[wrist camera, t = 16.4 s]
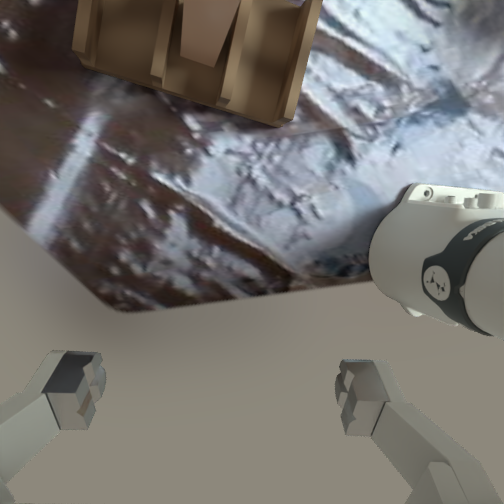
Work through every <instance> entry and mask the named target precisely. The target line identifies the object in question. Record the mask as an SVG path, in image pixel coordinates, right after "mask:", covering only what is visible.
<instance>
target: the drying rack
mask: <svg viewBox="0 0 504 504" xmlns="http://www.w3.org/2000/svg"><path fill="white" fill-rule="evenodd" d="M322 2H323V0H305V2H304V3H303V4H302V5H301V7H300V6H297V5H295V4H293V3H290V2H288V1H285V0H240V2H239V5H238V7H237V10H236V13H235V15H234V18H233V20H232V23H231V25H230V28H229V31H228V33H227V36H226V38H225V41H224V43H223V46H222V49H221V51H220V54H219V56H218V59H217V61H216V64H215V66H214V68H213V67H210V66H207V65H204V64H202V63H199V62H196V61H193V60H190V59H187V58H184V57H181V56H180V51H181V37H182V22H183V8H184V0H79V1H78V8H77V15H76V22H75V29H74V36H73V43H72V50H73V52H74V53H75V54H76V55H77V57H78V58H79V59H80V60H81V64H82V65H83V67H84V68H87V69H90V70H93V71H96V72H100V73H103V74H106V75H109V76H113V77H116V78H119V79H122V80H126V81H129V82H132V83H135V84H138V85H142V86H145V87H148V88H151V89H155V90H158V91H161V92H164V93H168V94H171V95H174V96H177V97H181V98H184V99H187V100H190V101H193V102H197V103H200V104H203V105H206V106H210V107H213V108H216V109H219V110H223V111H226V112H229V113H232V114H236V115H239V116H242V117H245V118H248V119H252V120H255V121H258V122H261V123H265V124H268V125H271V126H274V127H278V128H280V127H282V126H283V124H285V123H287V122H289V121H292V120H293V118H294V114H295V110H296V106H297V102H298V98H299V94H300V90H301V86H302V82H303V78H304V74H305V70H306V66H307V62H308V58H309V54H310V50H311V46H312V42H313V38H314V34H315V30H316V26H317V22H318V18H319V14H320V10H321V6H322Z"/></svg>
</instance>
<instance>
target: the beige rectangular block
mask: <svg viewBox="0 0 504 504" xmlns="http://www.w3.org/2000/svg"><path fill="white" fill-rule="evenodd" d="M239 2H240V0H184V8H183V22H182V37H181V51H180V56H181V57H184V58H187V59H190V60H193V61H196V62H199V63H202V64H204V65H207V66H210V67H213V68H214V66H215V64H216V61H217V59H218V56H219V54H220V51H221V49H222V46H223V43H224V41H225V38H226V36H227V33H228V31H229V28H230V25H231V23H232V20H233V18H234V15H235V13H236V10H237V7H238V5H239Z"/></svg>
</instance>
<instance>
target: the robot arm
mask: <svg viewBox="0 0 504 504" xmlns="http://www.w3.org/2000/svg"><path fill="white" fill-rule="evenodd" d="M425 191H426V194H425V196H424V192H425ZM369 268H370V273H371V276H372V278H373V281H374V283H375V284H376V286H377V287H378V288H379V290H380V291H381V292H382V293H384V294H385V295H386V296H388V297H390V298H392V299H394V300H396V301H397V302H399V303H400V304H401V306H402V307H403V308H404V310H405V311H406V312H407V313H408V314H410V315H412V316H414V317H418V316H421V315H427V316H429V317H431V318H434V319H436V320H438V321H441V322H443V323H446V324H448V325H451V326H457V325H458V324H460V325H462V326H463V327H465V328H467V329H469V330H472V331H474V332H478V333H480V334H483V335H487V336H495V337H497V338H499V339H501V340H503V341H504V193H503V192H499V191H492V190H482V189H473V188H463V187H453V186H443V185H433V184H423V183H414V184H412V185H411V186H410V187H409V188H408V190H407V191H406V193H405V195H404V196H403V198H402V200H401V202H400V204H399V205H398V206H397V207H396V208H395V209H393V210H392V211H391V212H390V213H389V214H388V215H387V216H386V217H385V218H384V219H383V221H382V222H381V223H380V225H379V226H378V228H377V230H376V232H375V234H374V236H373V239H372V242H371V245H370V250H369ZM101 362H102V357H101V354H100V353H98V352H80V351H58V350H53V351H51V352H50V353H48V354H47V356H46V357H45V359H44V360H43V362H42V363H41V365H40V366H39V368H38V369H37V371H36V372H35V374H34V376H33V377H32V379H31V380H30V382H29V383H28V385H27V386H26V388H25V389H24V391H23V392H22V393H16V394H15V395H13V396H12V397H10V398H9V399H7V400H6V401H4V402H3V403H1V404H0V504H30V503H14V502H15V500H14V496H13V495H12V493H11V492H10V490H9V489H8V487H7V486H6V483H7V482H8V481H10V480H11V479H12V477H14V476H15V475H16V474H17V473H18V472H19V471H20V470H21V469H22V468H23V467H24V466H25V465H26V464H27V463H28V462H29V461H30V460H31V459H32V458H33V457H34V456H35V455H36V454H38V452H39V451H41V450H42V449H43V448H44V447H45V446H46V445H47V444H48V443H49V442H50V441H51V440H52V439H53V438H54V437H55V436H56V435H57V434H58V433H59V432H60V430H87V429H88V428H89V425H90V423H91V421H92V418H93V416H94V414H95V411H96V409H95V406H94V403H95V402H96V401H98V400H99V399H100V398H101V397H102V394H103V392H104V389H105V384H106V372H105V369H104V368H103V367H102V366H100V364H101ZM339 368H340V371H341V373H340V374H338V375H337V377H336V381H335V394H336V399H337V404H338V405H339V406H340V407H341V408H342V409H343V410H342V413H341V420H342V423H343V427H344V431H345V435H347V436H367V437H371V439H372V440H373V441H374V442H375V444H376V445H377V446H378V447H379V448H380V450H381V451H382V452H383V453H384V454H385V456H386V457H387V458H388V459H389V461H390V462H391V463H392V464H393V466H394V467H395V468H396V469H397V470H398V472H399V473H400V474H401V475H402V477H403V478H404V479H405V480H406V481H407V483H408V484H409V485H410V486H411V488H412V489H413V491H412V492H411V494H410V496H409V497H408V499H407V501H406V502H405V504H503V503H502V501H501V499H500V497H499V495H498V493H497V492H496V490H495V488H494V486H493V484H492V483H491V481H490V479H489V477H488V475H487V474H486V472H485V470H484V468H483V467H482V465H481V463H480V461H478V460H477V459H476V458H475V457H474V456H472V455H471V454H470V453H469V452H468V451H467V450H466V449H464V448H463V447H462V446H460V444H459V443H457V442H456V441H455V440H454V439H453V438H452V437H450V436H449V435H448V434H447V433H446V432H445V431H443V430H442V429H441V428H440V427H439V426H438V425H436V424H435V423H434V422H433V421H432V420H431V419H429V418H428V417H427V416H426V415H425V414H423V413H422V412H421V411H420V410H419V409H418V408H416V407H415V406H414V405H413V404H412V403H407V402H406V400H405V397H404V395H403V393H402V391H401V389H400V386H399V384H398V382H397V380H396V378H395V375H394V373H393V371H392V369H391V367H390V364H389V363H388V362H387V361H385V360H384V361H383V360H348V359H347V360H345V359H343V360H342V361H341V363H340V366H339Z"/></svg>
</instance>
